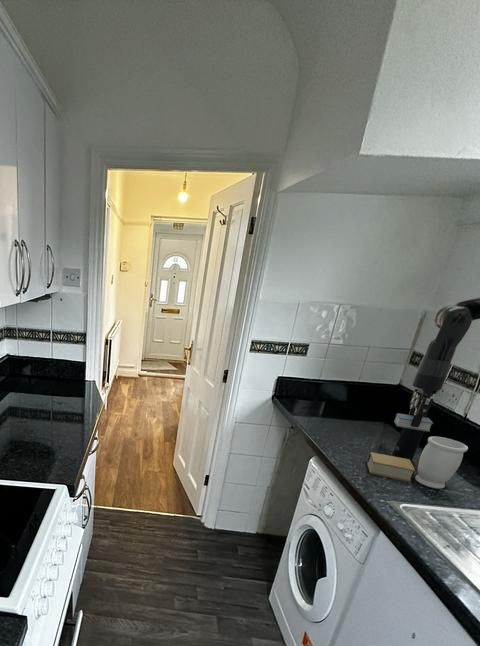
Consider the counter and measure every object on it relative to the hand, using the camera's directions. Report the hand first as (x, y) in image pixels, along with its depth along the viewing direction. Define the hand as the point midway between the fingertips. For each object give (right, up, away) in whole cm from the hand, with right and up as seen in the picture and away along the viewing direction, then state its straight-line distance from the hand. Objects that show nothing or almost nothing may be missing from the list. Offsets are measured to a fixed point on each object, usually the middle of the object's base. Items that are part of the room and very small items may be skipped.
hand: (412, 423), depth 136 cm
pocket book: (0, -1, 0) cm, 1 cm away
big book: (-1, -17, +11) cm, 20 cm away
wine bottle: (+11, -13, +21) cm, 27 cm away
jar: (+9, -20, +4) cm, 22 cm away
